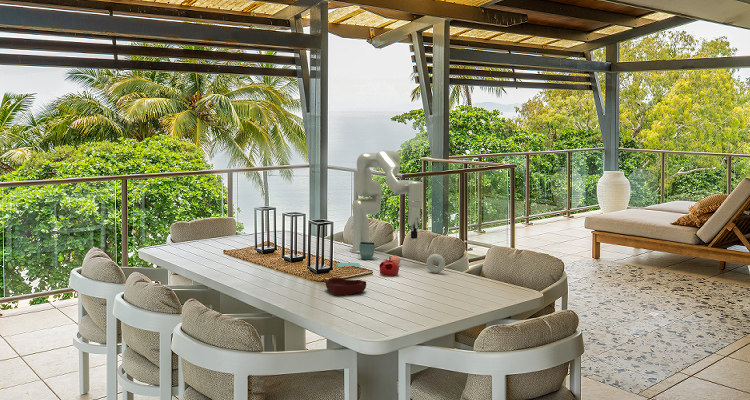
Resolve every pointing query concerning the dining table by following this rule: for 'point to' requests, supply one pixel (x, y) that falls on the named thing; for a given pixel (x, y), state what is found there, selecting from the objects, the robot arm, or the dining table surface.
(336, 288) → the dark red shallow dish
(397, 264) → the ball
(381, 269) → the pomegranate
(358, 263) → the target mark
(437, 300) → the dining table surface
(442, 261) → the donut
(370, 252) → the flower pot
